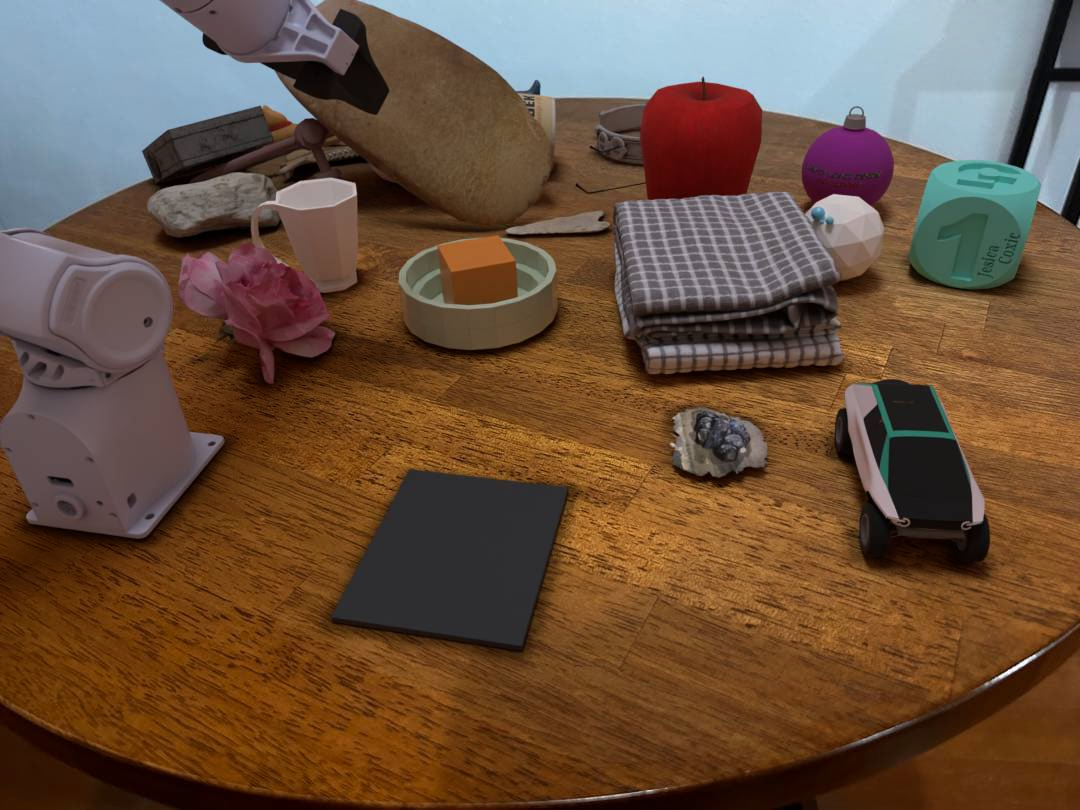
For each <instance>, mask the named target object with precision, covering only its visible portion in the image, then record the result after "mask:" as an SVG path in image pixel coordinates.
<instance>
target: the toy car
mask: <svg viewBox="0 0 1080 810" xmlns="http://www.w3.org/2000/svg"><path fill="white" fill-rule="evenodd" d="M844 405H845V407H842V408H839V409H838V411H837V413H836V415H835V421H834V422H835V423H834V445H835V449H836V451H837V453H839V454H844V455H853V456H854V460H855V464H856V467H857V471H858V474H859V475H858V476H859V478H860V481H861V484H862V487H863V491H864V494H865V498H866V501H867V503H865V504H864V505H863V506H862V508H861V511H860V515H859V528H858V529H859V532H858V533H859V534H858V535H859V544H860V549H861V551H862V553H863V554H864V555H865V556H868V557H872V558H880V557H881V558H882V557H885V556H886V555H887V554H888V552H889V550H890V545H891V539H892V538H895V537H900V536H903V538H914V539H931V540H932V539H933V540H951V541H952V546H953V547H952V548H953V551H954V553H955V556H956V557H957V559H958V560H960V561H963V562H967V563H980V562H982V561H984V560H985V559H986V557H987V555H988V553H989V550H990V549H989V548H990V544H991V533H990V532H991V529H990V523H989V520H988V517H987V515H986V514H985V509H986V508H985V507H986V501H985V496H984V495H983V493H982V491H981V489H980V487H979V486H978V484H977V481H976V479H975V476H974V474H973V472H972V470H971V468H970V466H969V463H968V460H967V457H966V456H965V454H964V452H963V449H962V447H961V444H960V442H959V440H958V438H957V436H956V433H955V431H954V429H953V427H952V424H951V423H950V420H949V415H948V413H947V409H946V407H945V406H944V404H943V402H942V400H941V399H940V397H939V395H938V394H937V391H936V389H935V388H934V386H932V385H928V384H919V383H914V384H913V383H909V382H907V381H905V380H902V379H898V378H897V379H896V378H885V379H880V380H877V381H874V382H871V383H869V382H853V383H852V384H849V386H848V387H847V388H846V389H845V390H844Z"/></svg>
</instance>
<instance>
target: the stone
mask: <svg viewBox="0 0 1080 810" xmlns="http://www.w3.org/2000/svg"><path fill="white" fill-rule="evenodd" d="M315 7H316V8H317V9H318V10H319V12H320V13H321V14H322V15H323V16H324V17H325V19H326V20H327V21H328V22H329V23H330V24H333V22H334V20H335V18H336V16H337V14H338V12H339V10H340V9H343V10H346V11H348V12H351V13H353V14H355V15H357V16H358V17H359V18H360V19H361V20H362V22H363V23H364V24H365V26H366V36H367V43H368V47H369V51H370V53H371V56H372V58H373V60H374V62H375V64H376V66H377V68H378V70H379V71H380V73H381V75H382V76H383V78H384V80H385V82H386V83H387V85H388V87H389V90H390V91H389V93H388V95H387V97H386V99H385V101H384V103H383V105H382V107H381V108H380V110H379V112H378V114H377V115H373V114H369V113H367V112H364V111H362V110H360V109H358V108H356V107H354V106H352V105H350V104H348V103H346V102H344V101H341V100H335V99H332V100H323V99H318V98H314V97H312V96H310V95H308V94H305V93H303V92H301V91H299V90H297V89H296V88H294V87H293V85H294V83H295V81H296V80H295V79H292V78H290V77H288V76H285V75H283V74H281V73H279V72H277V71H275V70H274V72H275V75H277V78H278V79H279V80H280V82H281V83H282V85H283V86H284V88H286V90H287V91H288V92H289V93H290V94H291V95H292V97H293V98H294V99H295V100H296V101H297V102H298V103H299V104H300V105H301V107H303V108H304V109H305V111H307V112H308V113H309V114H310V115H311V116H312V117H313V118H314V119H316V120H318V121H319V122H320V123H321V124H323V125H324V126H325V127H326V128H327V129H328V130H329V131H330V132H331V133H333V134H334V135H335V136H336V137H337V138H339V139H340V140H341V142H342V143H343V144H344V145H345V146H348V147H350V148H351V149H352V150H353V151H355V152H356V153H357V154H359V155H360V156H361V157H362V159H363V160H365V161H366V162H367V163H368V164H369V163H370V164H372V165H373V166H374V167H376V168H377V169H379V170H380V171H381V172H383V173H384V174H386V175H387V176H388V177H390V178H391V179H392V180H394V181H395V182H396V183H395V184H397V185H399V186H400V187H402V188H403V189H405V190H406V191H407V192H408V193H410V194H411V195H413V196H415V197H416V198H418V199H419V200H421V201H423V202H425V204H428V205H429V206H431V207H432V208H434V209H436V210H437V211H439V212H440V213H442V214H445V215H449V216H451V217H452V218H454V219H455V220H457V221H458V222H463V223H467V222H469V223H471V224H476V225H480V226H488V225H497V226H498V225H500V226H505V225H508V224H509V225H510V224H513V223H514V222H516V220H517V219H519V218H520V217H522V216H523V215H524V214H525V213H527V211H529V209H530V208H531V207H532V206H534V204H535V203H537V202H538V201H539V199H540V197H541V196H542V195H543V191H544V190H543V187H544V186H545V185H546V183H547V181H548V180H549V178H550V175H551V172H552V171H551V168H552V163H551V159H552V154H551V148H550V142H549V138H548V137H547V135H546V133H545V131H544V129H543V127H542V126H541V125H540V123H538V122H537V121H536V120H535V119H534V118H533V116H532V115H531V113H530V112H529V110H528V108H527V106H526V104H525V102H524V101H523V99H522V98H521V97H520V96H519V95H518V93H517V92H516V91H517V90H515V89H514V87H512V85H511V84H510V83H509V82H508V81H507V80H506V79H505V78H504V77H503V76H502V75H501V74H500V73H499V72H498V71H497V70H495V69H494V68H493V67H491V66H490V65H489V64H487V63H486V62H485V61H483V60H482V59H480V58H479V57H477V56H476V55H475V54H473V53H472V52H470V51H468V50H467V49H464V48H463V47H462V46H459V45H457V44H456V43H455V42H453V41H452V40H450V39H448V38H446V37H444V36H442V35H441V34H439V33H437V32H435V31H433V30H431V29H429V28H427V27H425V26H423V25H421V24H419V23H417V22H414V21H412V20H409V19H407V18H404V17H401V16H397V15H396V14H395V13H392V12H389V11H387V10H385V9H383V8H380V7H378V6H376V5H373V4H370V3H367V2H365V1H361V0H323V1H321V2H320V3H318V4H317V5H315ZM370 164H369V165H370Z"/></svg>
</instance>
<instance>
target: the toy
mask: <svg viewBox="0 0 1080 810" xmlns="http://www.w3.org/2000/svg"><path fill="white" fill-rule="evenodd" d="M261 108H262V110H263V113H264V116H265V118H266V121H267V123H268V126H269V129H270V131H271V134H272V137H273V139H274V142H271V143H269V144H267V145H265V146H263V147H262V148H264V147H266V146H269V145H271V144H274V143H277V142H279V141H282V140H284V139H287V138H290V137H292V136H294V130H295V127H296V125H297V124H298V123H294V122H293V121H290V120H288V118H287V117H286V116H285V114H283V113H281V112H278V111H276V110H274V109H272V108H271V107H269V106H268V105H266V104H265V105H262V106H261ZM341 142H342V141H341V140H340V139H339V138H337V137H336V136H333V137H330V138H328V139H326V141H325V143H324V144H323V145H322V146H321V147H322V148H325V147H331V146H334V145H338V144H339V143H341ZM299 150H304V149H303V148H301V149H299ZM299 150H298V151H299Z"/></svg>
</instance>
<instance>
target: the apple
mask: <svg viewBox="0 0 1080 810" xmlns="http://www.w3.org/2000/svg"><path fill="white" fill-rule="evenodd" d="M705 80H706V79H705V77H704V76H702V77H701V81H700V80H699V81H691V82H684V83H678V84H677V83H676V84H671V85H667V86H664V87H661V88H658V89H656V91H655V92H654V94H652V96H651V97H650V98H649V100H647V104H646V105H645V108H644V110H643V114H642V123H641V128H640V133H639V137H640V141H641V149H642V157H643V163H642V164H643V172H644V180H645V182H646V184H645V189H646V197H647V199H648V200H654V199H665V200H668V199H683V198H690V197H698V196H704V195H708V196H711V195H721V196H726V195H727V196H732V195H735V196H739V195H741V194H748V191H749V186H750V182H751V178H752V174H753V171H754V168H755V164H756V163H757V162H756V161H757V159H758V155H759V151H760V148H761V145H762V132H763V109H762V107H761V105H760V103H759V102H758V100H757V99H756V97H755V95H754V94H753V93H751V92H750V91H748V90H747V89H744V88H740V87H735V86H731V85H727V84H722V83H717V82H708V81H705Z"/></svg>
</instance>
